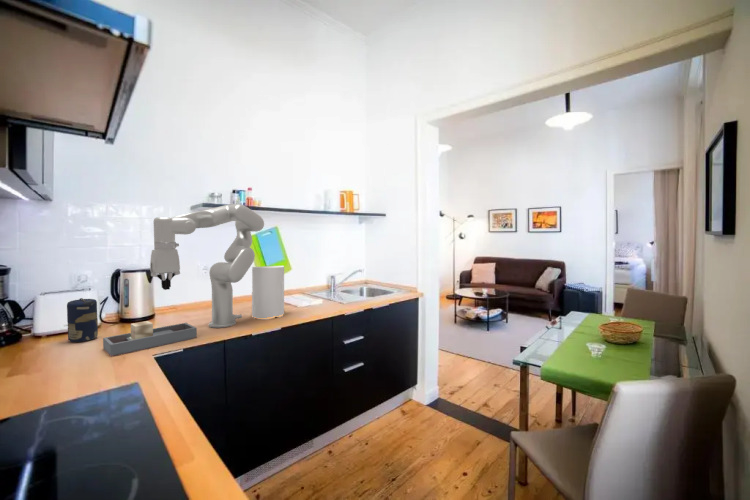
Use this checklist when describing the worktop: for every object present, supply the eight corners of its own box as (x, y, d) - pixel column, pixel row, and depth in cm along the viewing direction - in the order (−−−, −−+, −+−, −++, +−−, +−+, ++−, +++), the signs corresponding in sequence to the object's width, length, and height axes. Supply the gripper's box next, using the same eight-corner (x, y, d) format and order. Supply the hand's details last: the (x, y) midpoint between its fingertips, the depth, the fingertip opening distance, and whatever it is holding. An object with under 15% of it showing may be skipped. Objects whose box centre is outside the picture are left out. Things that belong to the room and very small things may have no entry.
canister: (97, 334, 145) (96, 295, 144) (99, 340, 138) (98, 298, 137) (67, 339, 138) (66, 297, 137) (68, 345, 131) (66, 301, 131)
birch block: (148, 334, 137) (148, 320, 136) (153, 337, 133) (152, 323, 133) (130, 338, 132) (130, 323, 132) (135, 341, 128) (135, 326, 128)
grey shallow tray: (186, 332, 151) (185, 322, 151) (196, 337, 143) (196, 327, 143) (103, 349, 128) (103, 337, 128) (110, 356, 120) (110, 344, 120)
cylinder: (288, 316, 182) (288, 267, 180) (256, 321, 172) (256, 268, 170) (278, 310, 196) (278, 264, 194) (248, 314, 186) (248, 265, 185)
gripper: (180, 245, 146) (182, 286, 147) (141, 246, 134) (142, 290, 135) (187, 246, 141) (188, 288, 142) (147, 247, 129) (148, 292, 130)
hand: (166, 289), depth 139 cm, fingers closed
